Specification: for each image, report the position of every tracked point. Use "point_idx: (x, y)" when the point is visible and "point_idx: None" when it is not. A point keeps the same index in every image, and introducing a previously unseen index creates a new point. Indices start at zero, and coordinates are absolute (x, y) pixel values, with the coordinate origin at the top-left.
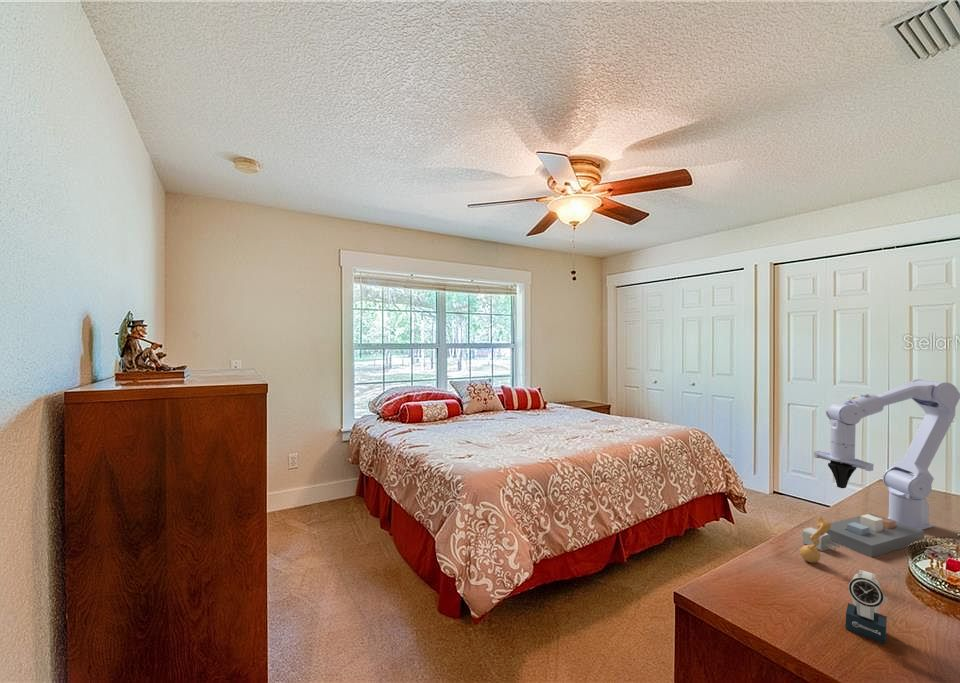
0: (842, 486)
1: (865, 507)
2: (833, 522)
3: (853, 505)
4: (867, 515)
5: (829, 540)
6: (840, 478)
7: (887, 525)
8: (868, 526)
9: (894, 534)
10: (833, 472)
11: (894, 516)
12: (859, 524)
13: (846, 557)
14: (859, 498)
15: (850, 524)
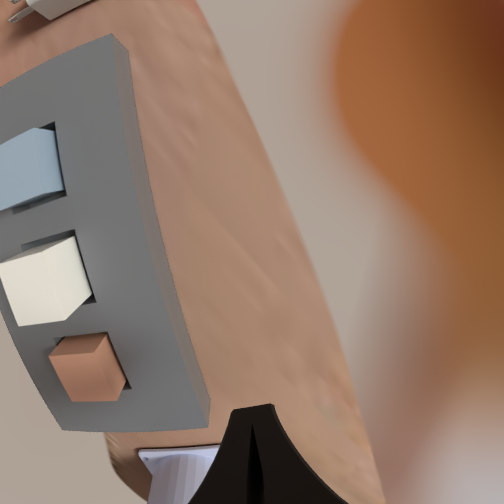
0: (228, 423)
1: (324, 473)
2: (123, 136)
3: (348, 457)
4: (48, 298)
5: (38, 10)
6: (234, 471)
7: (56, 348)
8: (37, 248)
9: None
10: (316, 496)
11: (190, 470)
12: (23, 192)
13: (7, 37)
14: (372, 491)
15: (26, 141)
